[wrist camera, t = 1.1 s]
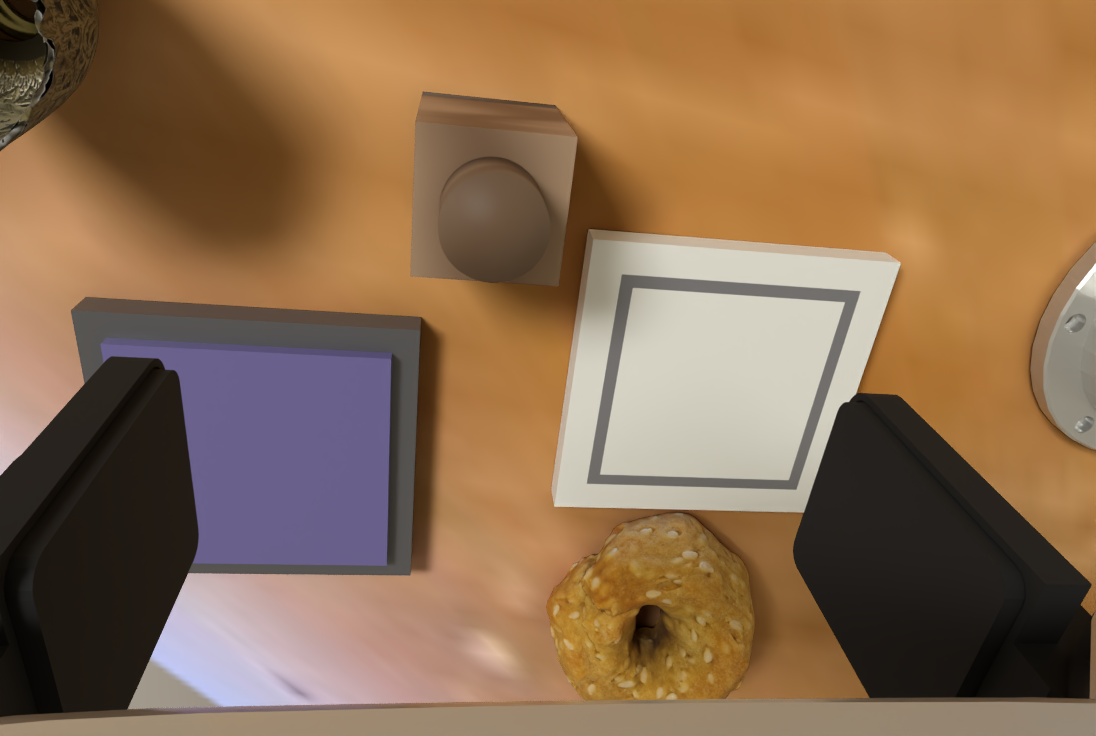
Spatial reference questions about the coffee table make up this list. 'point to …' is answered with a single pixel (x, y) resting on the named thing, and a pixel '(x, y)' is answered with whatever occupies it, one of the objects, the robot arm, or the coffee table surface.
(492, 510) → the coffee table surface
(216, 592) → the coffee table surface
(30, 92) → the cup
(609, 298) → the board
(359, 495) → the ink pad
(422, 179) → the stamp
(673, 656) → the bagel
